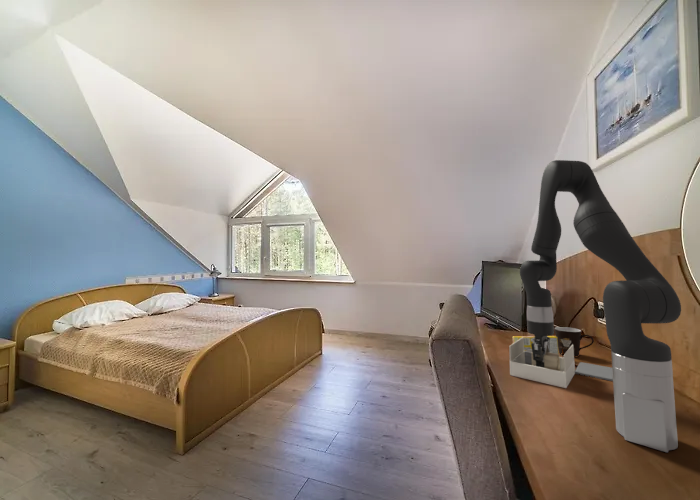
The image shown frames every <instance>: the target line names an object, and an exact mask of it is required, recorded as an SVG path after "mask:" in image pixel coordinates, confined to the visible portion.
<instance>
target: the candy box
mask: <svg viewBox="0 0 700 500" xmlns="http://www.w3.org/2000/svg"><path fill="white" fill-rule="evenodd" d="M522 337H524V351H526V350H527V349H532V346H531V344H532V343H533V339H534V337H535V336H534V335H533V336H530V335H529V336H528V335H524V336H523V335H522V336H521V335H520V336H517V335H516V336H512V344H513V343H514V342H516V341H518V340H519V339H521V338H522ZM547 337H550V353H556V354H559V349H558V340H557V337H556V335H555V336H554V335H551V336H547ZM559 355H560V354H559Z"/></svg>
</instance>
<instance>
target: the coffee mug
mask: <svg viewBox="0 0 700 500" xmlns="http://www.w3.org/2000/svg"><path fill="white" fill-rule="evenodd" d="M554 334H555V336H556V337H557V340H558V352H559V353H560V354H559V355H561V353H562V349H563V352H564V354H565V353H566V351H567V350H568V349H569V348H570V347H571V345H573V347H574V356H578V355H579V356H580V351H581V350H583V349H586V348H589V347H591V346H592V345H593V344H594V343H595V341H594V338H593V337H592V336H591V335H589V334H582V330H581V329H578V328H575V327H566V326H565V327H562V326H558V327H557V326H556V327H554ZM584 337H588V338H590V339H591V342H590V343H589V344H588V345H585V346H582V347H581V340H583V338H584Z"/></svg>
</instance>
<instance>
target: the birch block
mask: <svg viewBox="0 0 700 500" xmlns="http://www.w3.org/2000/svg"><path fill="white" fill-rule="evenodd" d="M542 352H543V351H542ZM537 357H540V355H537ZM559 357H560V354H556V353H550V352H546V355H544V360H545V361H544V368H547V369H552V370H557V371H560V360H559ZM525 364H528V365H533V366H536V361H535V360H533V353H532V349H527V350H526V351H525Z"/></svg>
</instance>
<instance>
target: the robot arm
mask: <svg viewBox="0 0 700 500" xmlns="http://www.w3.org/2000/svg"><path fill="white" fill-rule="evenodd" d="M540 181H541V183H540V189H539V190H540V192H539V203H538V215H537V224H536V229H535V233H534V235H533V236H534V237H533V240H532V243H531V252H532V253H533V254H534V255H537V256H539V260H525V261H524V262H523V263H521V266H520V267H519V276H520V279H521V282H522V284H523V287H524V290H525V292H526V293H525V294H526V327H527V329H526V330H527V333H529V334H530V335H533V336H535V337H534V339H533V343H532V344H531V346H532V353H533V360H535V361H536V366H537V367H542V368H544V361H545V360H544V355H546V352H550V337H547V336H554V335H555V326H554V312H553V306H552V305H553V304H552V293H551V290H550V289H548V288H545V287H541V285H540V282H547V281H551V280H552V279H554V277H555V275H556V273H557V269H558V268H557V267H558V266H557V250H558V247H559V243H560V240H561V237H562V225H561V221H560V219H559V216H558V213H557V210H556V209H557V208H556V199H557V195H558V192H559V193H560V192H564V193H571V194H572V195H573V196H574V197H575V199H576V201H577V202H578V207H577V210H576V212H575V214H574V217H573V227H574V230H575V232H576V234H577V236H578V238H579V239H580V241H581V243H582V245H583V246H584V247H585V248H586V249H587V250H588V251H589V252H591V253H592V254H594V255H595V256H597V257H598V258H599V259H601V260H602V261H604V262H606V263H607V264H609V265H610V266H612V267H613V268H614V269H616V270H617V271H618V272H619V273H620V274H621V275H622V276H623V278H624V280H613V281H611V282H609V283H607V285H605V288H604V290H603V294H602V295H603V296H602V307H603V313H604V320H605V329H606V336H607V339H608V341H609V344H610V351H611V368H612V372H613V381H612V386H613V397H614V398H613V401H614V413H615V415H614V416H615V430H616V431H617V432H618V433H619V434H620V435H621V436H622V437H623V438H624V440H625V441H628V442H631V443H634V444H638V445H641V446H645V447H648V448H651V449H654V450H658V451H660V452H665V453H669V451H672V450H676V449H678V446H679V444H678V442H679V441H678V429H677V428H678V427H677V418H676V402H675V390H674V389H675V387H674V371H673V362H672V359H673V358H672V351H671V348H670V346H669V344H667V343H665V342H663V341H660V340H657V339H653V338H651V337H648V336H647V335H645V333H644V330H643V326H642V324H655V325H656V324H668V323H674V322H675V321H677V320H678V319H679V318H680V316H681V314H682V305H681V304H682V303H681V301H680V300H681V299H680V297H679V296H678V294H677V292H676V290H675V289H674V288H673V286H672V285H671V284H670V282H669V281H668V280H667V279H666V278H665V277H664V275H663V274H662V273H661V272H660V271H659V270H658V269H657V268H656V266H655V265H654V264H653V263H652V262H651V261H650V259H649V258H648V257H647V256H646V255H645V253H644V252H643V251H642V249H641V248H640V246H639V245H638V244H637V242H636V241H635V240H634V238H633V237H632V235H631V233H630V232H629V231H628V229H627V227H626V225H625V223H624V222H623V221H622V219H621V218H620V216H619V215H618V213H617V212H616V211H615V209H614V208H613V207H612V205H611V204H610V201H608V199H607V197H606V195H605V194H604V192H603V191H602V188H601V186H600V184H599V182H598V180H597V177H596V175H595V174H594V171H593V169H592V168H591V165H589V164H588V162H584V161H581V160H566V159H565V160H564V159H563V160H561V159H560V160H559V159H558V160H557V159H556V160H552V161H551V162H549V163H548V164H547V165H546V167H545V168H544V170H543V173H542V177H541V180H540ZM542 351H543V352H542ZM537 355H540V357H537Z"/></svg>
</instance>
